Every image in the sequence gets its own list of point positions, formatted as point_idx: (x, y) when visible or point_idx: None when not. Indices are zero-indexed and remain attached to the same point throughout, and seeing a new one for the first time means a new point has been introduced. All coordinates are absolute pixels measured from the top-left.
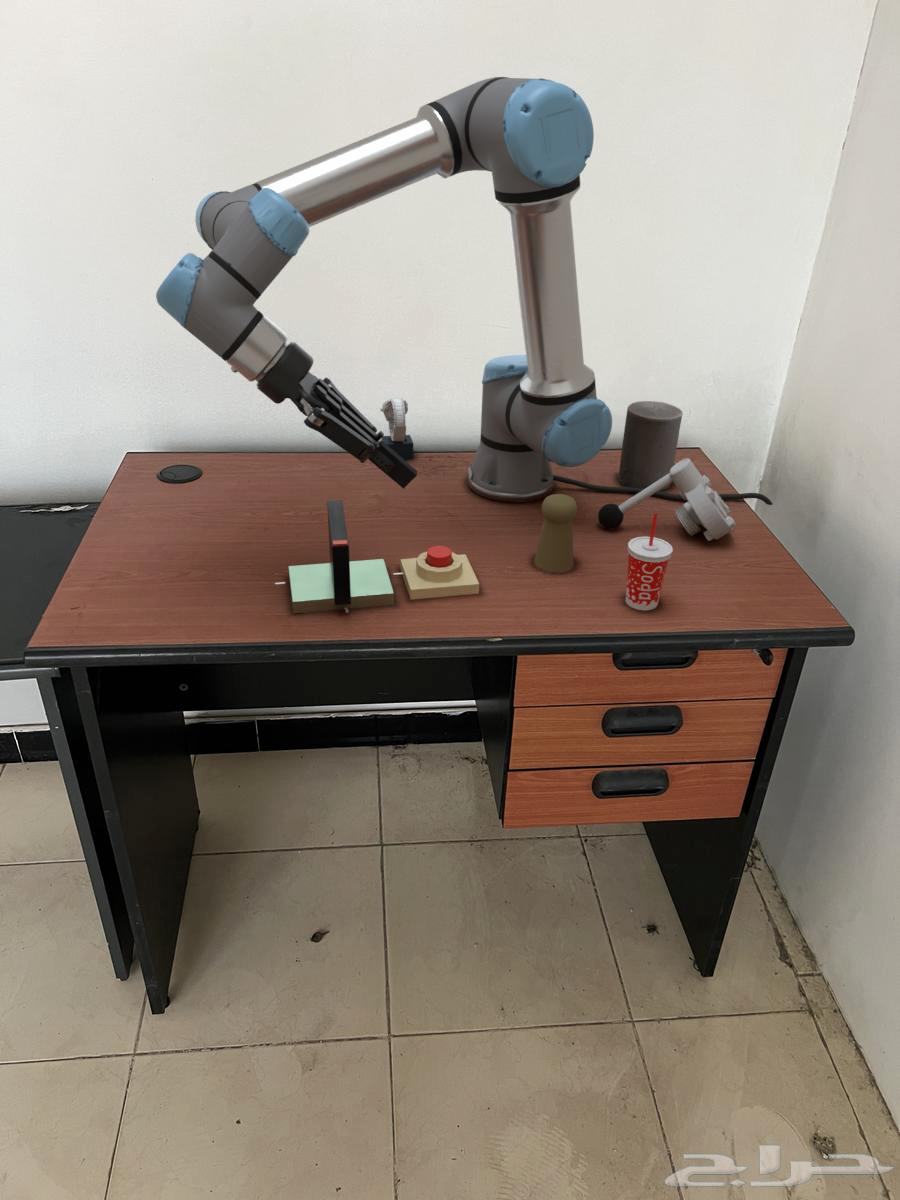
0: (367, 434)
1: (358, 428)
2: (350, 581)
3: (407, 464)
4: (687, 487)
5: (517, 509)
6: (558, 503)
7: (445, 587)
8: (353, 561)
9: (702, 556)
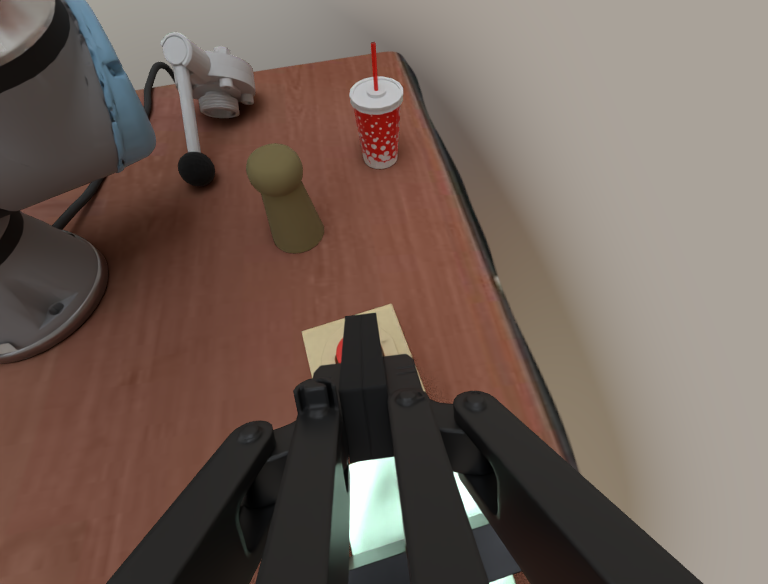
0: (393, 435)
1: (424, 479)
2: None
3: (355, 329)
4: (206, 65)
5: (129, 282)
6: (286, 157)
7: (408, 349)
8: (349, 535)
9: (278, 113)
